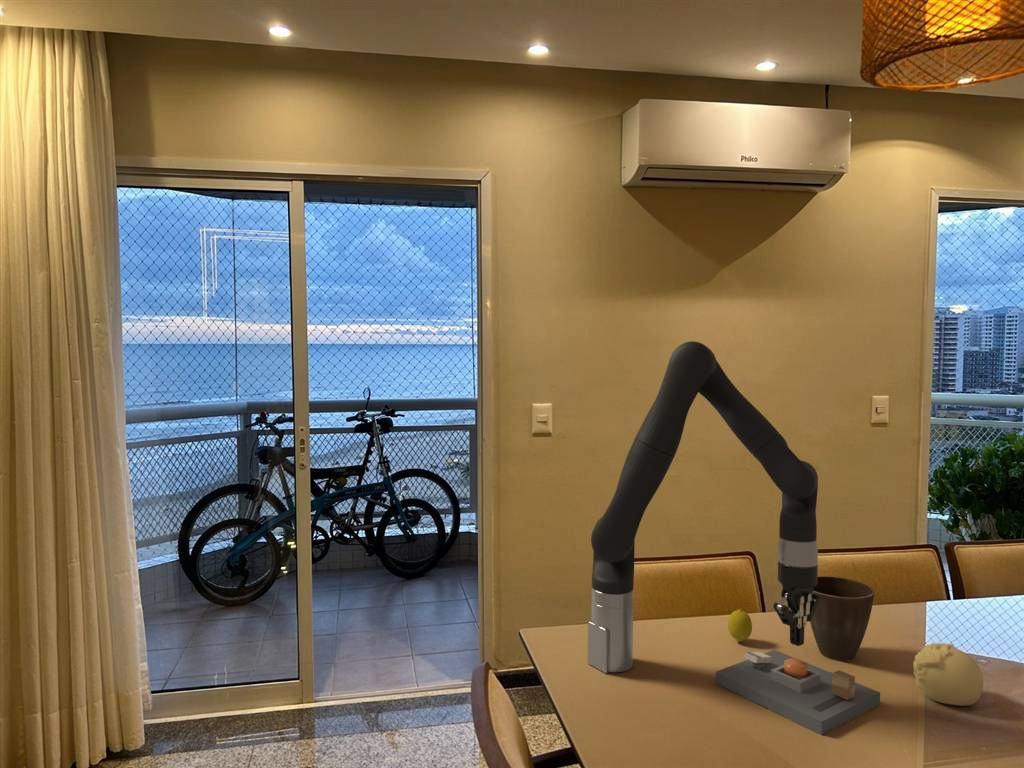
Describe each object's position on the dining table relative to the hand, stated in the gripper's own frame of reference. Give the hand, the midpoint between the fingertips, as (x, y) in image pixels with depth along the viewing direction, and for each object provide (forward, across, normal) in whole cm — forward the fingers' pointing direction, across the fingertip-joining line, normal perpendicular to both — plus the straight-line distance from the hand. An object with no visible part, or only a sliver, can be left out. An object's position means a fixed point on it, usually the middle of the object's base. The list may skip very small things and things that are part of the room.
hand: (796, 644), depth 141 cm
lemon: (+10, -12, -23) cm, 28 cm away
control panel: (+10, 0, 0) cm, 10 cm away
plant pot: (+11, -25, -6) cm, 28 cm away
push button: (+6, 0, 0) cm, 6 cm away
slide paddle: (+7, -2, +9) cm, 12 cm away
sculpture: (+11, -24, +18) cm, 32 cm away
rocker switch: (+6, 0, -9) cm, 11 cm away
